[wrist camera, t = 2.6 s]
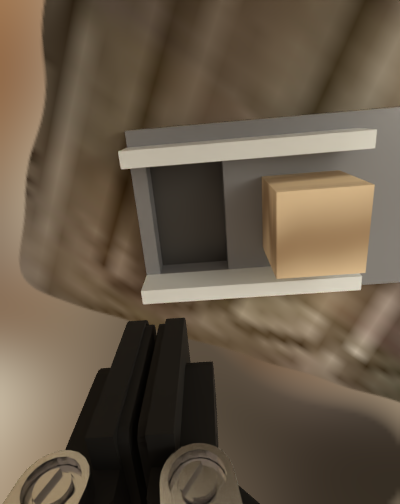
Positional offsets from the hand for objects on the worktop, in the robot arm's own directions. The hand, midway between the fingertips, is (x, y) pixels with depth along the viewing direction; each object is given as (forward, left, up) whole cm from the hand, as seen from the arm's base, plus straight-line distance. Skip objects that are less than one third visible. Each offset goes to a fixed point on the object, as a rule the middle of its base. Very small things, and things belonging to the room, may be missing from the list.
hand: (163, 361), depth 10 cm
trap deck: (0, +9, -16) cm, 19 cm away
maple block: (0, +8, -14) cm, 16 cm away
